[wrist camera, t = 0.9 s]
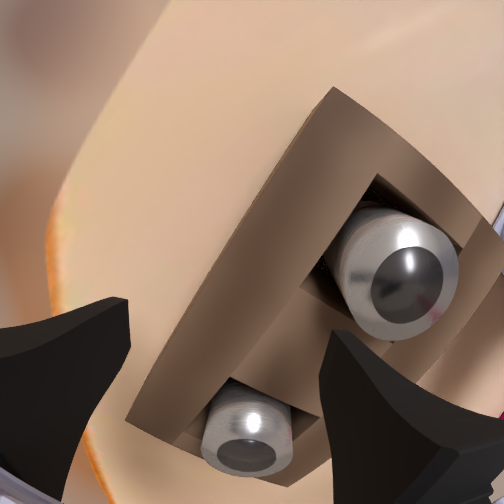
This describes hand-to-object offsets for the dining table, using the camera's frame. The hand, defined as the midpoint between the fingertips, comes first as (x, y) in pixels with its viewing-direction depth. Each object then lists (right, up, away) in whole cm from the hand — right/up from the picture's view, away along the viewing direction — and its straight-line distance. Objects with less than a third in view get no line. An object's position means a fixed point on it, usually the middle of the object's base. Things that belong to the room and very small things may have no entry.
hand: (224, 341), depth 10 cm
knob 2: (+7, +3, +6) cm, 10 cm away
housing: (+4, -1, +10) cm, 11 cm away
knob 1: (+1, -6, +10) cm, 11 cm away
